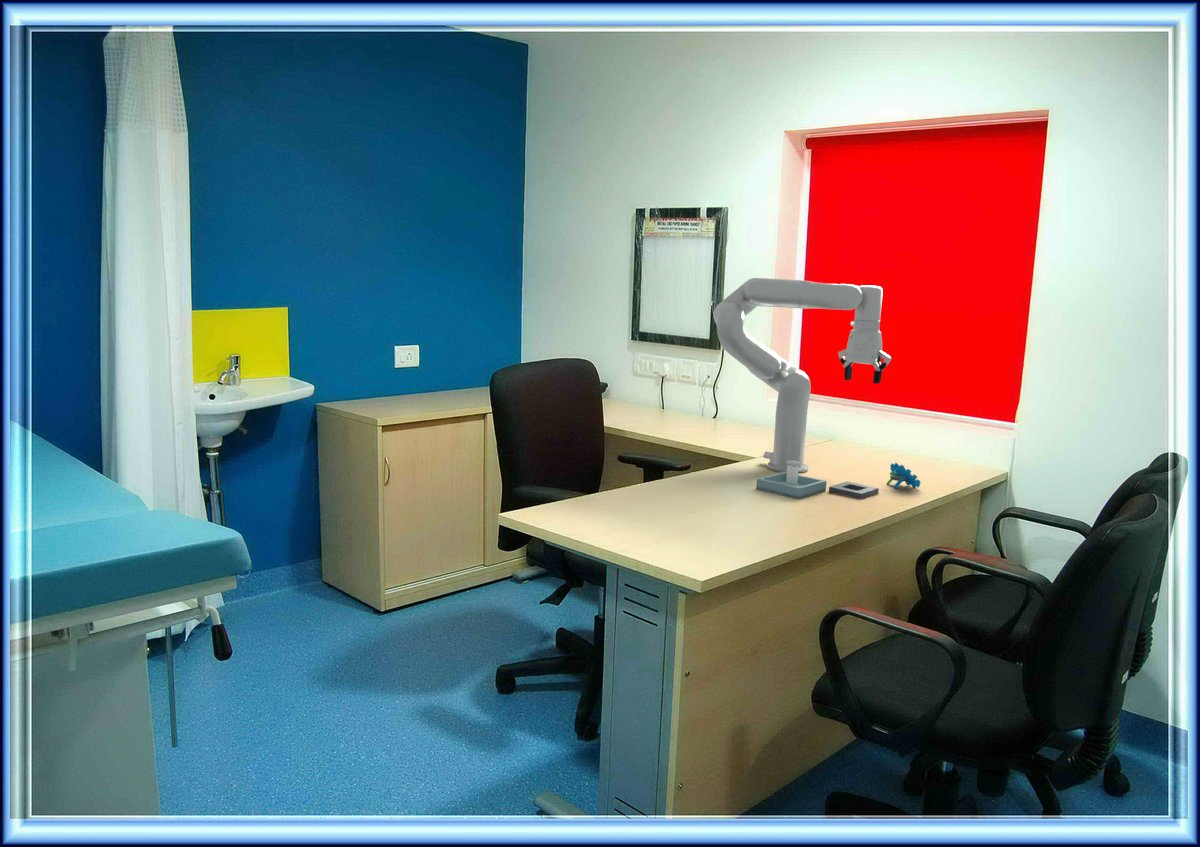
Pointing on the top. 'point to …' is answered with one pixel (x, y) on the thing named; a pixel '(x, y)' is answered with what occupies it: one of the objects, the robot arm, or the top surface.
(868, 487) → the frame
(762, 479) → the parts tray
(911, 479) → the blue lumpy figure
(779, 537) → the top surface
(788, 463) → the cylinder
